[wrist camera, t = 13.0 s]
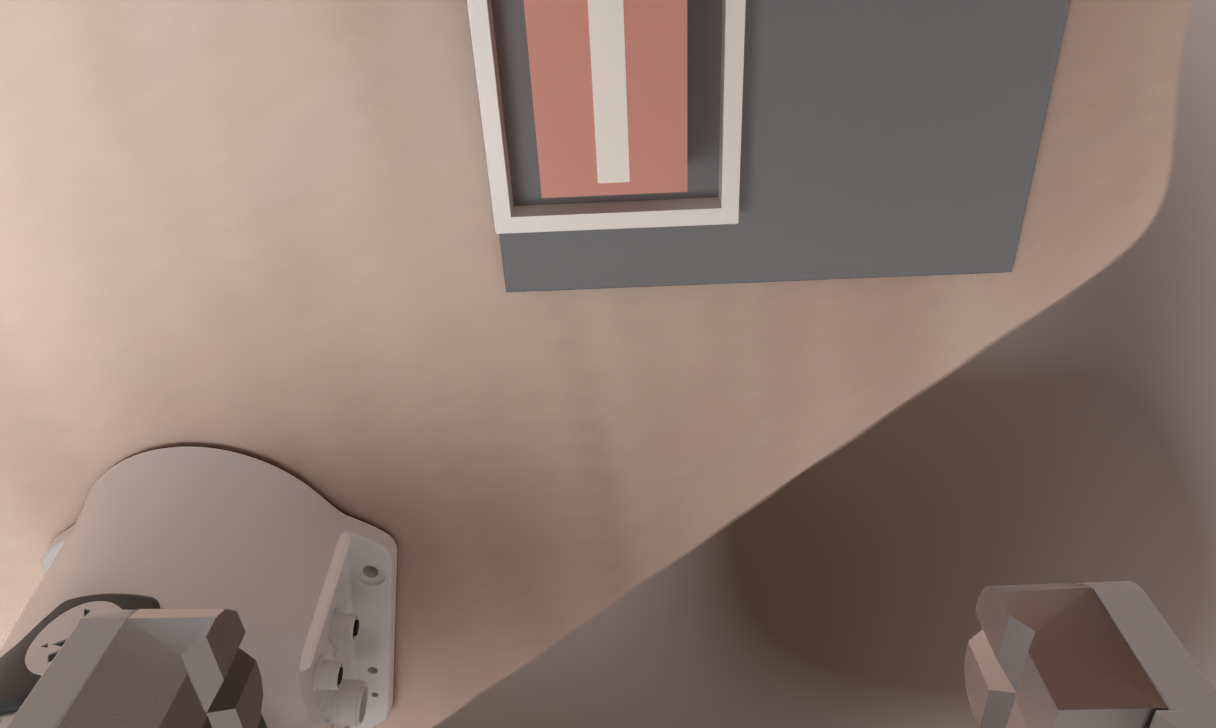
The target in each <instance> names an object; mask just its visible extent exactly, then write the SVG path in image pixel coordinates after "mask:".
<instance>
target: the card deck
mask: <svg viewBox="0 0 1216 728" xmlns="http://www.w3.org/2000/svg"><path fill="white" fill-rule="evenodd" d="M524 11H525V21H526V32H527V43H528V54H529V65H530V75H531V86H532V97H533V108H534V118H535V129H536V140H537V151H538V162H539V172H540V183H541V194H542V198H556V197H578V196H601V195H624V194H647V193H670V192H687V0H524Z"/></svg>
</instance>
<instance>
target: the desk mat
mask: <svg viewBox="0 0 1216 728" xmlns="http://www.w3.org/2000/svg"><path fill="white" fill-rule="evenodd" d="M491 3H492V12H493V21H494V31H495V40H496V49H497V58H498V67H499V76H500V85H501V94H502V103H503V112H504V121H505V130H506V140H507V149H508V158H509V167H510V176H511V185H512V194H513V203H514V206H525V205H549V204H572V203H595V202H619V201H642V200H666V199H689V198H712V197H718V193H719V142H720V91H721V41H722V0H687V192H670V193H647V194H624V195H601V196H578V197H556V198H542V194H541V183H540V172H539V162H538V151H537V140H536V129H535V118H534V108H533V97H532V86H531V75H530V65H529V54H528V43H527V32H526V21H525V11H524V0H491ZM1069 3H1070V0H746V6H745V37H744V67H743V97H742V128H741V158H740V189H739V219H738V224H720V225H696V226H672V227H648V228H624V229H600V230H577V231H553V232H529V233H505V234H499V236H500V245H501V253H502V261H503V269H504V277H505V286H506V292H525V291H550V290H575V289H600V288H625V287H650V286H676V285H701V284H726V283H751V282H776V281H801V280H826V279H851V278H876V277H901V276H926V275H951V274H976V273H1001V272H1012V268H1013V264H1014V259H1015V254H1016V250H1017V245H1018V240H1019V236H1020V231H1021V227H1022V222H1023V217H1024V213H1025V208H1026V203H1027V199H1028V194H1029V189H1030V185H1031V180H1032V175H1033V171H1034V166H1035V161H1036V157H1037V152H1038V148H1039V143H1040V138H1041V134H1042V129H1043V124H1044V120H1045V115H1046V110H1047V106H1048V101H1049V96H1050V92H1051V87H1052V82H1053V78H1054V73H1055V69H1056V64H1057V59H1058V55H1059V50H1060V45H1061V41H1062V36H1063V31H1064V27H1065V22H1066V17H1067V13H1068V8H1069Z"/></svg>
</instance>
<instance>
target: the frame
mask: <svg viewBox="0 0 1216 728" xmlns="http://www.w3.org/2000/svg"><path fill="white" fill-rule="evenodd" d="M467 6H468V14H469V22H470V30H471V38H472V46H473V54H474V62H475V70H476V78H477V86H478V95H479V103H480V111H481V119H482V127H483V135H484V143H485V151H486V159H487V167H488V175H489V183H490V191H491V200H492V208H493V216H494V224H495V232H496V234H505V233H529V232H553V231H577V230H600V229H624V228H648V227H672V226H696V225H720V224H738V219H739V189H740V158H741V128H742V97H743V67H744V37H745V6H746V0H722V41H721V91H720V142H719V193H718V197H712V198H689V199H666V200H642V201H619V202H595V203H572V204H549V205H525V206H514V203H513V194H512V185H511V176H510V167H509V158H508V149H507V140H506V130H505V121H504V112H503V103H502V94H501V85H500V76H499V67H498V58H497V49H496V40H495V31H494V21H493V12H492V3H491V0H467Z"/></svg>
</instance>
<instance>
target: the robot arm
mask: <svg viewBox="0 0 1216 728" xmlns="http://www.w3.org/2000/svg"><path fill="white" fill-rule="evenodd" d="M41 564H42V567H43V569H44V571H45V572H46V573H45V575H44V577H43V578H42V580H41V582H40V583H39V585H38V587H37V588H36V590H35V592H34V594H33V595H32V597H31V599H30V600H29V602H28V604H27V605H26V607H25V609H24V611H23V612H22V614H21V616H20V617H19V619H18V621H17V623H16V624H15V626H14V628H13V630H12V631H11V633H10V635H9V637H8V638H7V640H6V642H5V644H4V645H3V647H2V649H1V651H0V728H372V727H374V726H376V725H378V724H380V723H382V722H384V721H385V720H386V719H387V718H388V715H389V713H390V710H391V707H392V703H393V684H394V649H395V613H396V578H397V545H396V543H395V541H394V539H393V538H392V537H391V536H390V535H388V534H387V533H385V532H384V531H382V530H380V529H378V528H376V527H374V526H372V525H370V524H367V523H365V522H362V521H360V520H357V519H355V518H352V517H350V516H347V515H345V514H343V513H342V512H340V511H339V510H337V509H336V508H335V507H333V506H332V505H331V504H330V503H328V502H327V501H326V500H325V499H324V498H323V497H321V496H320V495H319V494H318V493H317V492H315V491H314V490H313V489H312V488H310V487H309V486H308V485H306V484H305V483H303V482H302V481H300V480H299V479H297V478H296V477H294V476H292V475H291V474H289V473H287V472H285V471H283V470H281V469H280V468H278V467H275V466H273V465H271V464H269V463H266V462H264V461H261V460H258V459H256V458H253V457H250V456H247V455H243V454H239V453H236V452H231V451H227V450H221V449H215V448H206V447H169V448H161V449H156V450H151V451H147V452H143V453H140V454H137V455H134V456H132V457H130V458H127V459H125V460H123V461H121V462H120V463H118V464H116V465H115V466H113V467H112V468H110V469H109V470H108V471H107V472H105V473H104V474H103V475H102V476H101V477H100V478H99V479H98V480H97V482H96V483H95V484H94V485H93V487H92V489H91V490H90V492H89V494H88V496H87V498H86V501H85V504H84V506H83V509H82V511H81V513H80V515H79V517H78V519H77V521H76V523H75V524H74V525H73V526H71V527H70V528H68V529H67V530H65V531H64V532H62V533H61V534H60V535H59V536H57V537H56V538H55V539H54V540H53V541H52V542H51V544H50V545H49V547H48V549H47V550H46V552H45V554H44V556H43V557H42V561H41ZM370 566H373V567H375V568H373V567H370ZM975 613H976V615H977V617H978V619H979V622H980V624H981V626H982V628H983V629H982V630H981V631H980V632H979V633H978V634H977V635H975V636H974V637H973V638H972V639H971V640H969V641H968V646H967V651H966V657H965V662H964V667H965V683H966V691H967V695H968V699H969V703H970V707H971V710H972V713H973V715H974V718H975V720H976V723H977V726H978V728H1216V691H1215V690H1214V689H1213V687H1212V685H1211V684H1210V683H1209V681H1208V680H1207V678H1206V677H1205V676H1204V674H1203V673H1202V671H1201V670H1200V669H1199V667H1198V666H1197V664H1196V663H1195V662H1194V660H1193V659H1192V657H1191V656H1190V655H1189V653H1188V652H1187V650H1186V649H1185V648H1184V646H1183V645H1182V644H1181V642H1180V641H1179V639H1178V638H1177V636H1176V635H1175V634H1174V632H1173V631H1172V629H1171V628H1170V627H1169V625H1168V624H1167V622H1166V621H1165V620H1164V618H1163V617H1162V616H1161V614H1160V613H1159V611H1158V610H1157V609H1156V607H1155V606H1154V604H1153V603H1152V601H1151V600H1150V599H1149V597H1148V596H1147V594H1146V593H1145V592H1144V590H1143V589H1142V588H1141V587H1140V586H1138V585H1136V584H1135V583H1134V582H1132V581H1116V582H1089V583H1081V584H1078V583H1062V584H1061V583H1060V584H1035V585H1009V586H986V588H985V589H984V590H983V591H982V593H981V594H980V595H979V599H978V603H977V607H976V611H975Z"/></svg>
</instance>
